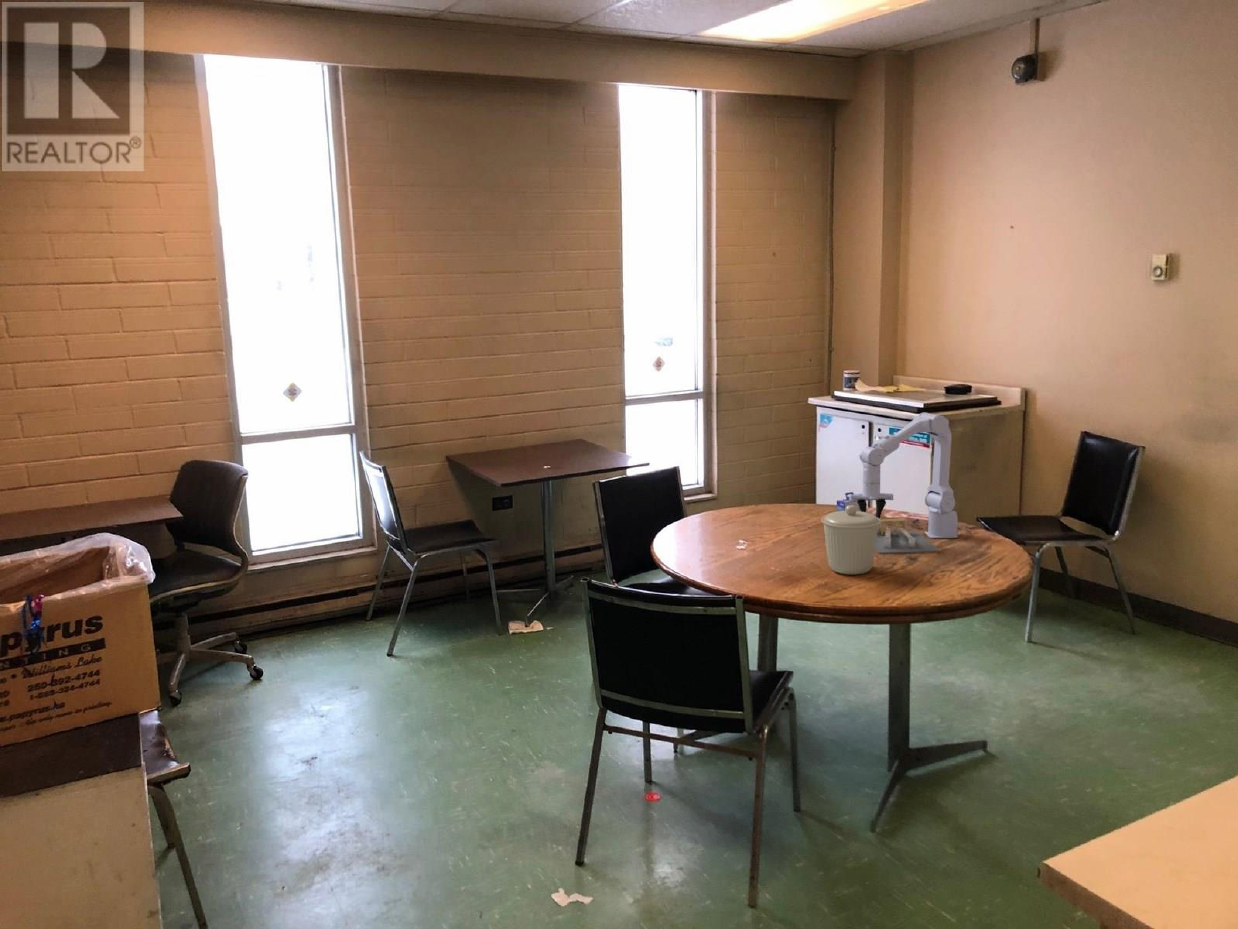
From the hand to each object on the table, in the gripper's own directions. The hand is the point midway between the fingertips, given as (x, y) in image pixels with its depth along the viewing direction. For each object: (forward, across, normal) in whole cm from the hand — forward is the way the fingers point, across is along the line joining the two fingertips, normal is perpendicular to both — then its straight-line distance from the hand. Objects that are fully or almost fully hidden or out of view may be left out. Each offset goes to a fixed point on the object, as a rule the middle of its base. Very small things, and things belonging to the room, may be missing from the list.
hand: (871, 520), depth 335 cm
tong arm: (+8, +6, +1) cm, 10 cm away
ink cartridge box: (+9, -3, +17) cm, 19 cm away
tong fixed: (+8, +12, +1) cm, 14 cm away
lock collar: (+8, +10, +10) cm, 17 cm away
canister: (+9, -13, -29) cm, 33 cm away
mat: (+8, +10, +1) cm, 13 cm away
